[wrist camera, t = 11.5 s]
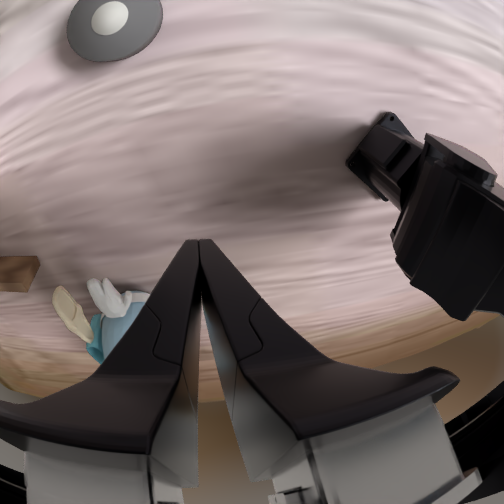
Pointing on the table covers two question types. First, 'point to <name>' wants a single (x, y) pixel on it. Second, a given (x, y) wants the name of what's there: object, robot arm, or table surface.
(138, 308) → the blue winged piece
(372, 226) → the table surface
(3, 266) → the wooden tray
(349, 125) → the table surface
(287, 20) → the table surface
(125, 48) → the wheel
